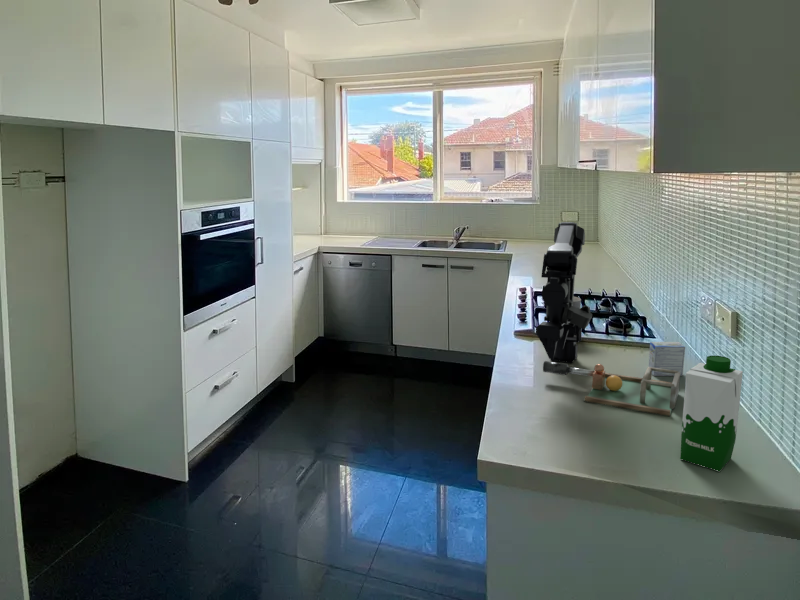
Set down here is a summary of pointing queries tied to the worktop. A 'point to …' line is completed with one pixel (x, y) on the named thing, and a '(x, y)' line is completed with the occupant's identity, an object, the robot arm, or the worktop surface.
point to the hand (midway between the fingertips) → (556, 354)
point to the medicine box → (666, 357)
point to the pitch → (640, 393)
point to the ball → (614, 383)
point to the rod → (578, 372)
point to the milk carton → (710, 412)
